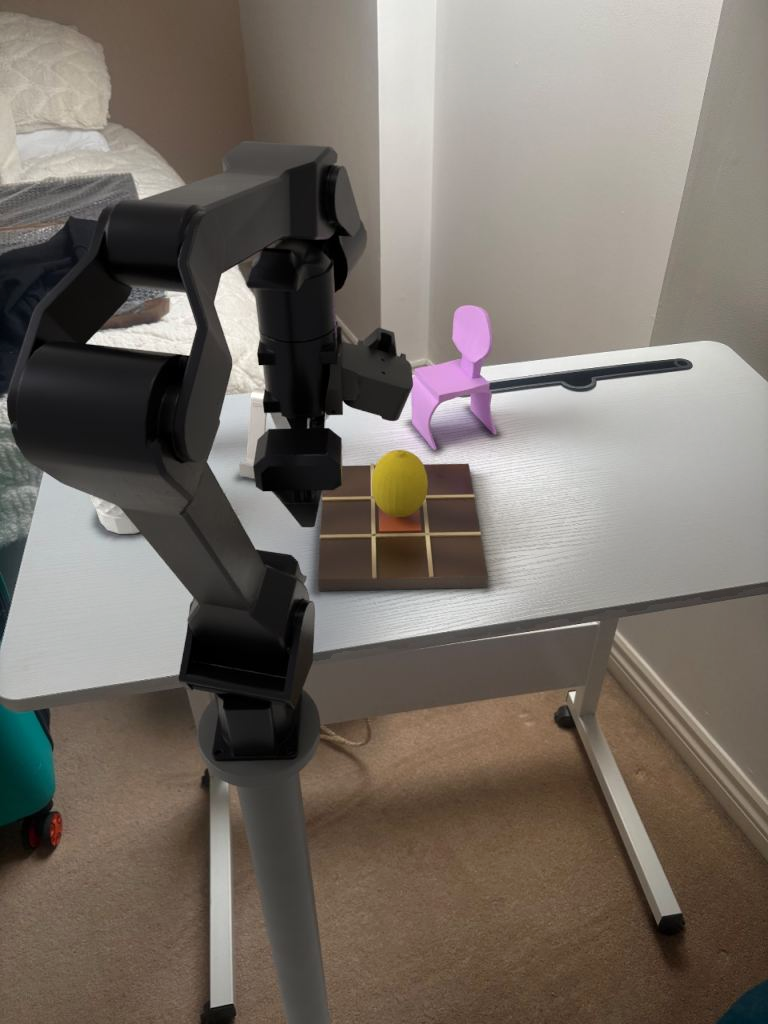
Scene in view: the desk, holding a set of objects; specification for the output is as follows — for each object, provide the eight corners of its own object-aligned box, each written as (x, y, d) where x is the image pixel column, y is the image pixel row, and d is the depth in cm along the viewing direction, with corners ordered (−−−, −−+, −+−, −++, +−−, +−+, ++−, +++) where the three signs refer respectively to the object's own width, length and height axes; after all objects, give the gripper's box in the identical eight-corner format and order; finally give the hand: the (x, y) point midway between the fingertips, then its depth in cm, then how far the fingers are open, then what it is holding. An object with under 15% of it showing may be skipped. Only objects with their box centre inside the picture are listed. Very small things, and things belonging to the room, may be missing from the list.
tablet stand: (240, 480, 92) (231, 416, 87) (268, 441, 98) (261, 379, 92) (313, 494, 90) (308, 429, 85) (337, 453, 96) (334, 391, 90)
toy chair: (404, 419, 101) (406, 305, 92) (468, 404, 104) (476, 291, 94) (434, 456, 95) (439, 338, 86) (501, 438, 98) (513, 322, 88)
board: (486, 587, 79) (488, 574, 78) (318, 591, 79) (317, 578, 77) (467, 474, 93) (468, 461, 92) (324, 476, 92) (323, 464, 91)
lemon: (428, 500, 86) (430, 436, 81) (424, 535, 82) (426, 470, 77) (375, 497, 87) (374, 433, 82) (369, 531, 83) (367, 466, 77)
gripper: (413, 388, 54) (410, 564, 64) (402, 270, 68) (400, 428, 78) (241, 391, 54) (265, 567, 64) (266, 272, 68) (282, 430, 78)
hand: (310, 491), depth 71 cm, fingers open, 9 cm apart
